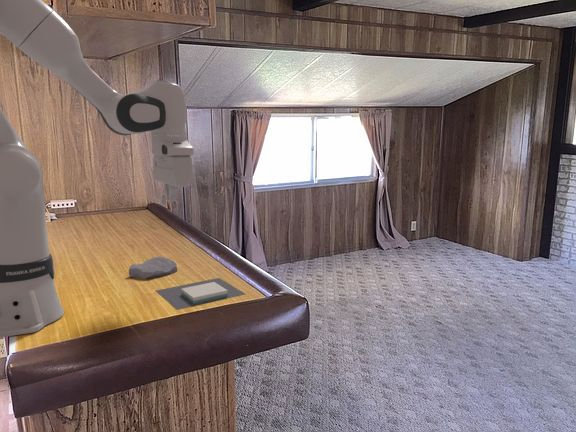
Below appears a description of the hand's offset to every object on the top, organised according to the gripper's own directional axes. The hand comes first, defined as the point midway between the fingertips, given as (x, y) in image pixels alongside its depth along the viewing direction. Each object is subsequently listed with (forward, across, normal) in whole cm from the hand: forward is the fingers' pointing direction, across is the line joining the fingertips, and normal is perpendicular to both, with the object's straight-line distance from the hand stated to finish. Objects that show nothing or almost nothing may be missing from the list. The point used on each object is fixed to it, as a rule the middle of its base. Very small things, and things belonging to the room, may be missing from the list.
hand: (171, 201), depth 123 cm
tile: (+22, +8, +4) cm, 24 cm away
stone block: (+24, -15, -1) cm, 28 cm away
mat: (+23, +9, +4) cm, 25 cm away
